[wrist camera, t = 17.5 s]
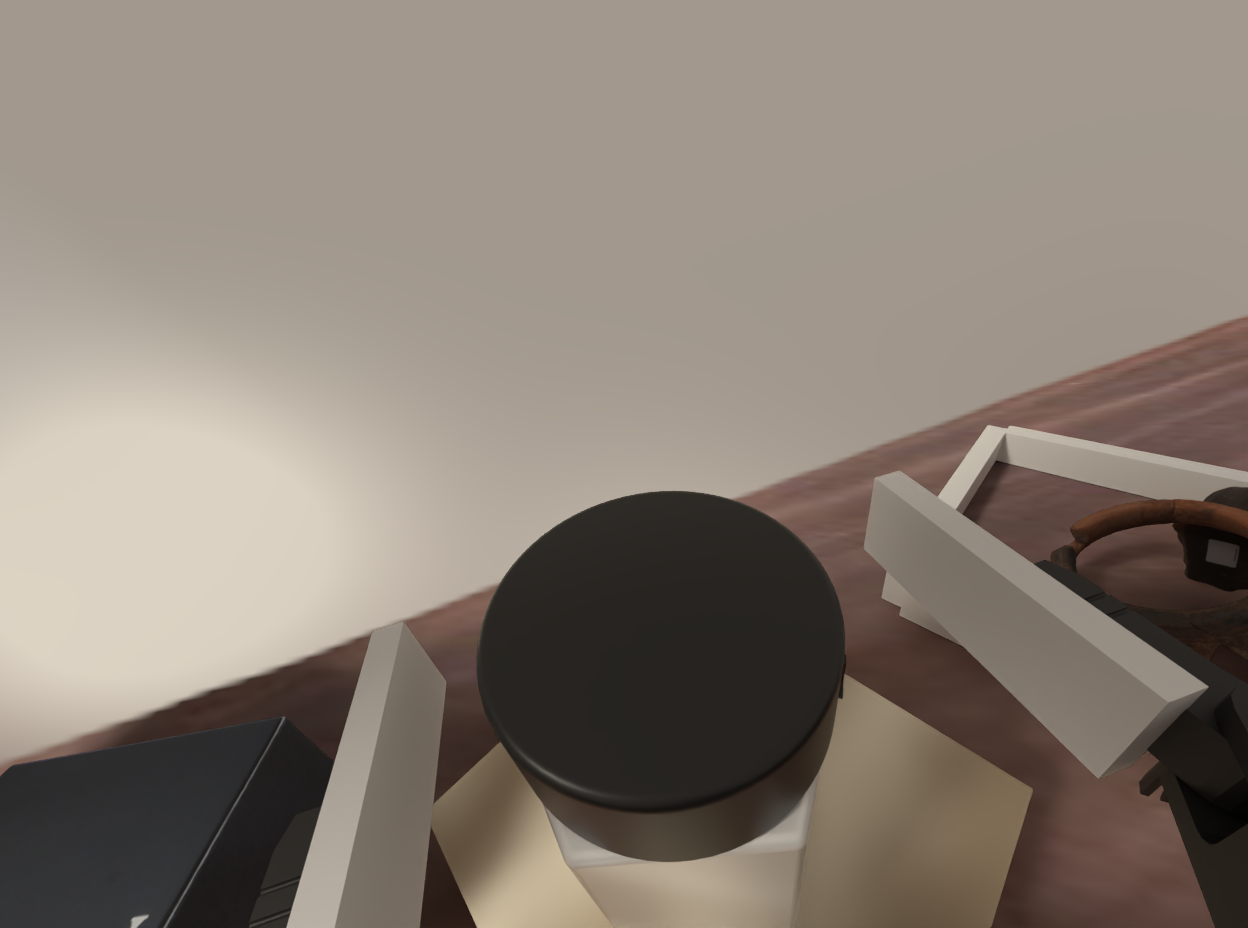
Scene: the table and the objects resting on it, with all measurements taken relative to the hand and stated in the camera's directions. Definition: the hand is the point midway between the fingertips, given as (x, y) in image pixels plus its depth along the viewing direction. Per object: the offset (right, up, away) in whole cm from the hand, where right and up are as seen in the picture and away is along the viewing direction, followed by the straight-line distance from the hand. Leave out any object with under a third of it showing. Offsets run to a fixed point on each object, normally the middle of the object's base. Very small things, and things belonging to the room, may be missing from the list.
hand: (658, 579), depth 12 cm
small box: (-15, -17, +6) cm, 24 cm away
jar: (+2, -10, +4) cm, 11 cm away
